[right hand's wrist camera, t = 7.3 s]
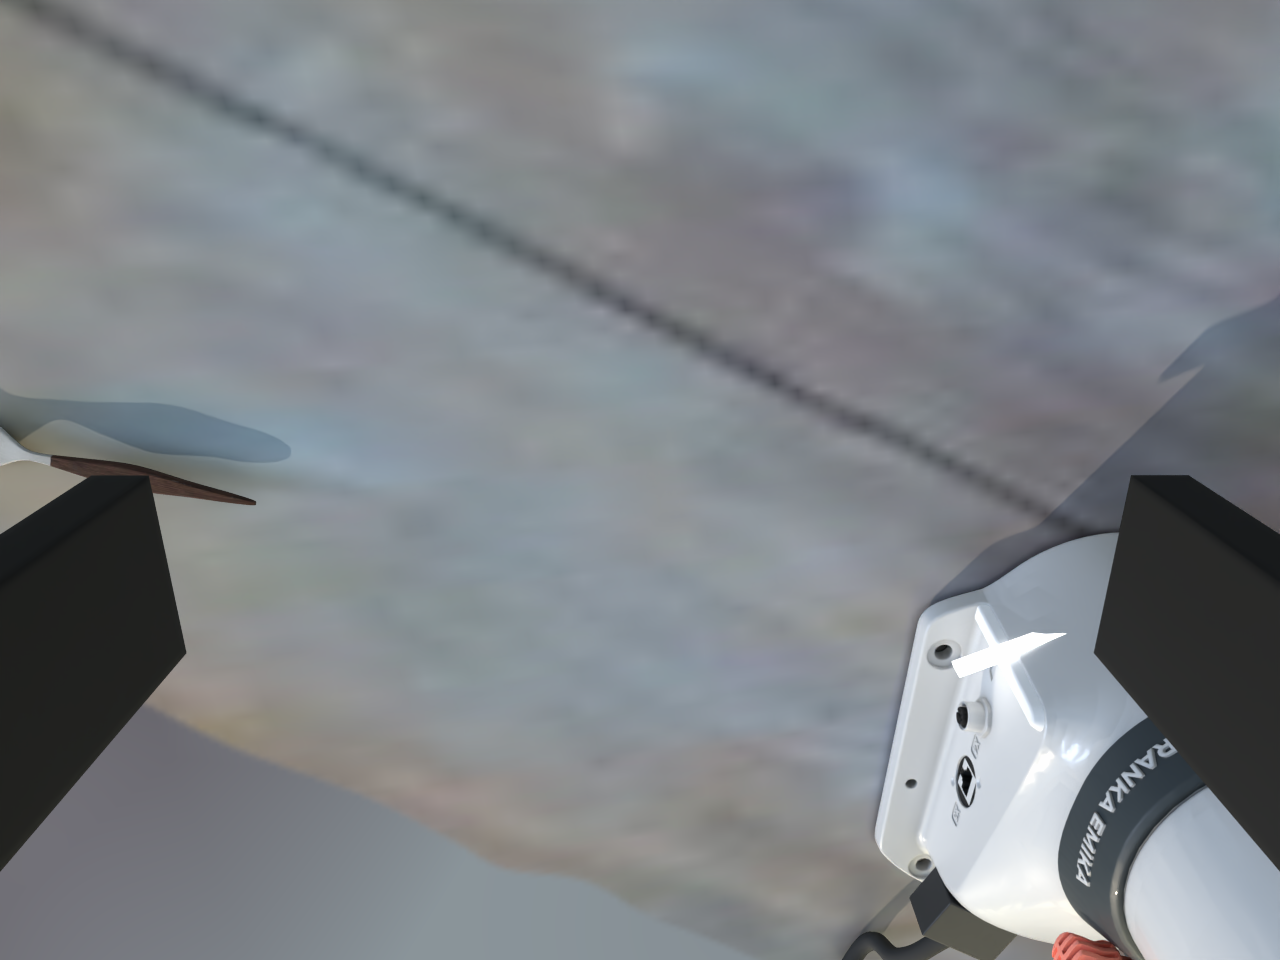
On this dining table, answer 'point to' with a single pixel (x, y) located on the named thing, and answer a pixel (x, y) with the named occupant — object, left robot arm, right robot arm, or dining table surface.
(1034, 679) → the left robot arm
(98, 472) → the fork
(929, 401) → the dining table surface
